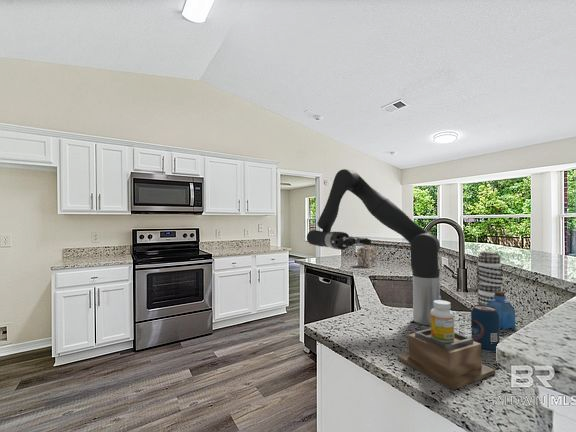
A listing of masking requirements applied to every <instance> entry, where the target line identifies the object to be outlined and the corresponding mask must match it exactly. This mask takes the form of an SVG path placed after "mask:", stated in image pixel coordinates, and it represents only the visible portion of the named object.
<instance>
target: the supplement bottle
mask: <svg viewBox="0 0 576 432" xmlns="http://www.w3.org/2000/svg"><path fill="white" fill-rule="evenodd" d="M433 306H434V309H432V310H431V326H430V328H431V337H432V338H434V339H436V340H438V341H441V342H443V343H452V342H454V332H455V317H454V316H455V314H454V312H453V311H452V310H451V307H452V305H451V302H450V301H447V300H443V299H441V300H435V301H434V302H433Z"/></svg>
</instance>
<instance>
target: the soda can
mask: <svg viewBox="0 0 576 432" xmlns="http://www.w3.org/2000/svg"><path fill="white" fill-rule="evenodd" d="M472 306H473V307H472V309H471V310H470V323H471V326H470V327H471V330H470V331H471V332H470V333H471V336H470V338H472V339H473V341H475V342H478V343H480V344H481V352H482V351H483V352H488V353H494V352H495V351H496V346H497V344H498V343H499V342H500V328H499V315H498V313H497V311H496V308H494V307H491V306H486V305H479V304H474V305H472ZM500 343H501V342H500ZM496 352H497V351H496Z"/></svg>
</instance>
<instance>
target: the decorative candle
mask: <svg viewBox="0 0 576 432" xmlns="http://www.w3.org/2000/svg"><path fill="white" fill-rule="evenodd" d="M477 256H478V261H477V265H478V266H477V267H476V275H477V277H476V278H477V280H476V282H477V284H478V293H477V296H478V297H477V300H478V301H477V305H486V306H487V304H488V303H489V302H490V301H491V300H495V298H494V294H495V292H494V291H501V292H502V286H503V282H502V281H503V280H504V278H503V276H504V275H503V273H501V272H504V269H502V268H504V266H503V265H502V263H501V255H500V254H499V253H498V252H497V251H493V250H492V251H487V250H483V251H480V252H479V254H477Z"/></svg>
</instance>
